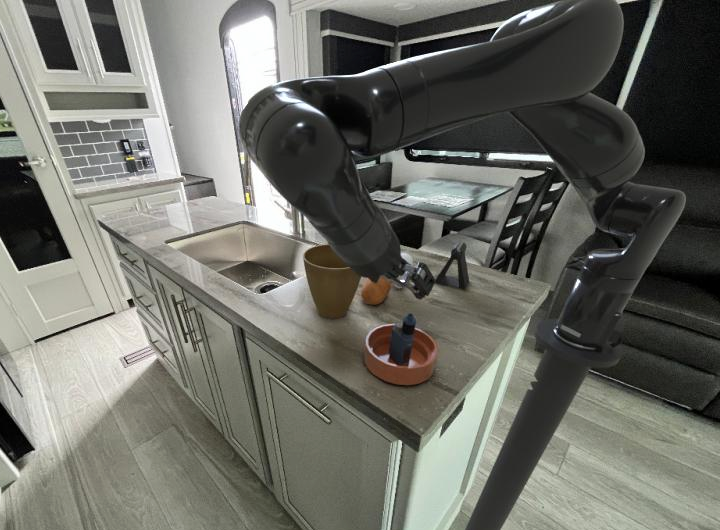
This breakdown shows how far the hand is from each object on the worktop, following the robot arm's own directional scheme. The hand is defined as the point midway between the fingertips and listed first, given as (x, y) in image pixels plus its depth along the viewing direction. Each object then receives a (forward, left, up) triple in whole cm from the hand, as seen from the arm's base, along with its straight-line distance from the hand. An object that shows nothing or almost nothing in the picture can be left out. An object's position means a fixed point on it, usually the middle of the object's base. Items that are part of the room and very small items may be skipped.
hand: (398, 285), depth 54 cm
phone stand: (+7, -47, -20) cm, 52 cm away
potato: (+19, -24, -20) cm, 37 cm away
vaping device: (0, -4, -19) cm, 20 cm away
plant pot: (+23, -10, -20) cm, 32 cm away
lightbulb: (+17, -33, -20) cm, 43 cm away
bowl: (0, -4, -20) cm, 20 cm away
